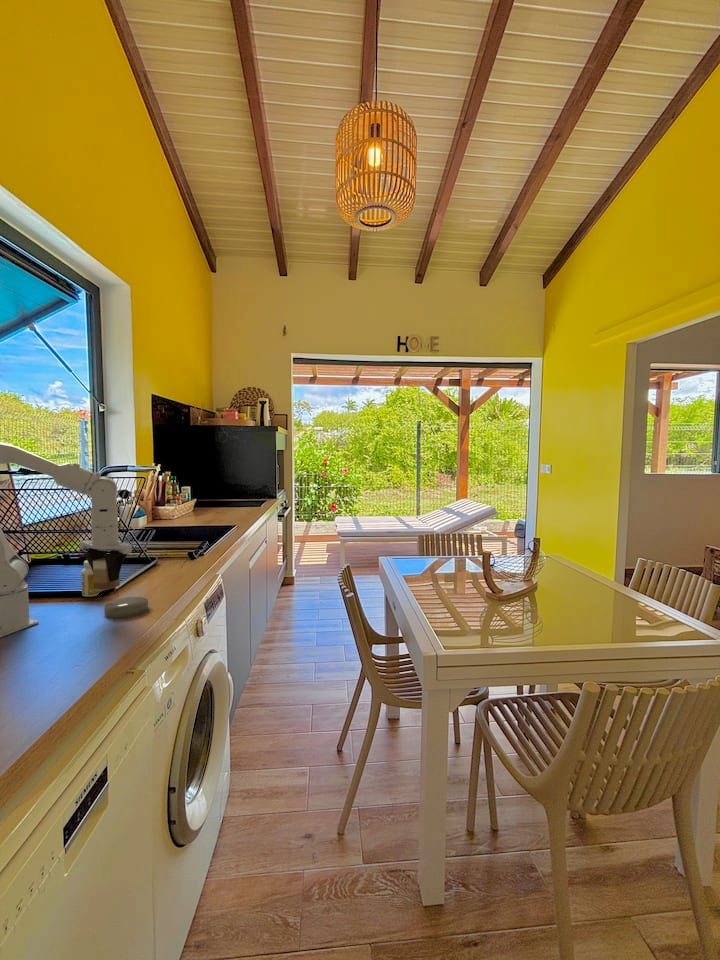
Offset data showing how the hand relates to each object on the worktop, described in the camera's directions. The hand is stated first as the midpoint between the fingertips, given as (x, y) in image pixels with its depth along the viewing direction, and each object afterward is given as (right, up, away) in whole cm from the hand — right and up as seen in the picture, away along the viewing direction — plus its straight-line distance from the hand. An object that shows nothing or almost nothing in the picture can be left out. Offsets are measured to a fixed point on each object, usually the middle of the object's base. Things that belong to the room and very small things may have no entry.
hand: (106, 579), depth 112 cm
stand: (+3, -9, +3) cm, 10 cm away
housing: (0, -2, 0) cm, 2 cm away
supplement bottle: (-13, -8, +15) cm, 21 cm away
